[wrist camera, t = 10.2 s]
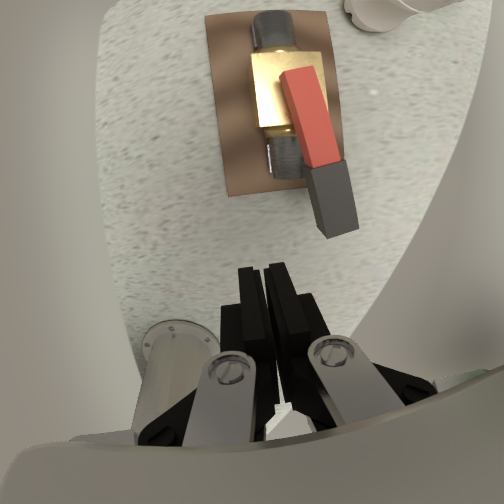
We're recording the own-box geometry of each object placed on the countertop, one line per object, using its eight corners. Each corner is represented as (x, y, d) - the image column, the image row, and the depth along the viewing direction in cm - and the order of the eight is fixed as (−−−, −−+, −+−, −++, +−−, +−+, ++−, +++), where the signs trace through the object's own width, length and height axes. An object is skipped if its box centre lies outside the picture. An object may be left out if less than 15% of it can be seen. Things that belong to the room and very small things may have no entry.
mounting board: (341, 181, 35) (345, 183, 33) (228, 194, 34) (228, 197, 33) (322, 15, 26) (325, 11, 24) (205, 20, 25) (204, 16, 24)
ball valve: (314, 169, 32) (333, 179, 26) (259, 175, 32) (266, 186, 26) (297, 23, 25) (312, 3, 19) (240, 26, 25) (243, 4, 19)
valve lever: (304, 72, 22) (318, 63, 18) (342, 214, 28) (359, 228, 24) (272, 80, 22) (280, 71, 18) (314, 223, 28) (327, 239, 24)
